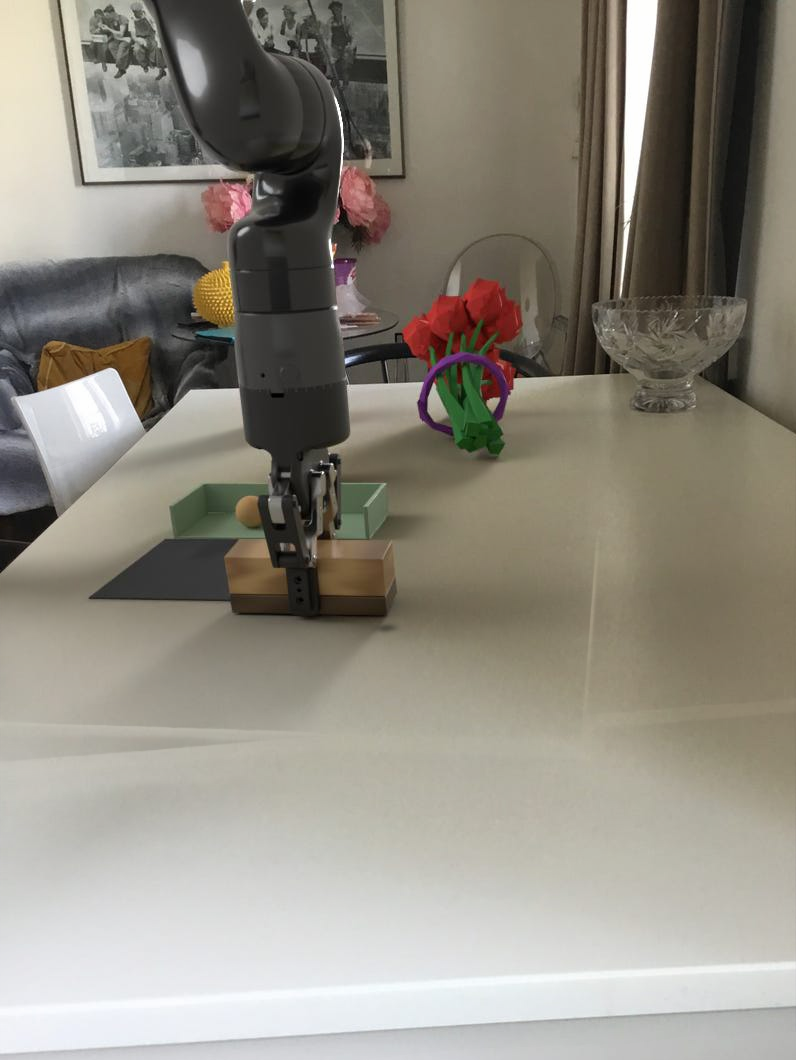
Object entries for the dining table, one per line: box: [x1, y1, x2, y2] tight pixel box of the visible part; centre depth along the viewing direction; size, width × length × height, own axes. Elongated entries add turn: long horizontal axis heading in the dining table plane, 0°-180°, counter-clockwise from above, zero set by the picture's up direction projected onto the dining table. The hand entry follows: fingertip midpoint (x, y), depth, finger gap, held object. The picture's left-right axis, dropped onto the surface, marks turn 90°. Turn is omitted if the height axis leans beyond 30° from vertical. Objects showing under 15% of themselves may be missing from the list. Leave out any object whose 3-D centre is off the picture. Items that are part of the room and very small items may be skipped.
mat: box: [88, 538, 239, 602], centre depth 90 cm, size 20×16×1 cm
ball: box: [236, 496, 262, 527], centre depth 100 cm, size 3×3×3 cm
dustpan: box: [168, 482, 389, 540], centre depth 104 cm, size 16×19×3 cm
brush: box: [224, 539, 398, 616], centre depth 80 cm, size 12×4×4 cm, turn 83°
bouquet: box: [401, 277, 524, 456], centre depth 135 cm, size 20×16×30 cm
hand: (314, 601), depth 81 cm, fingers closed on brush, 4 cm apart
